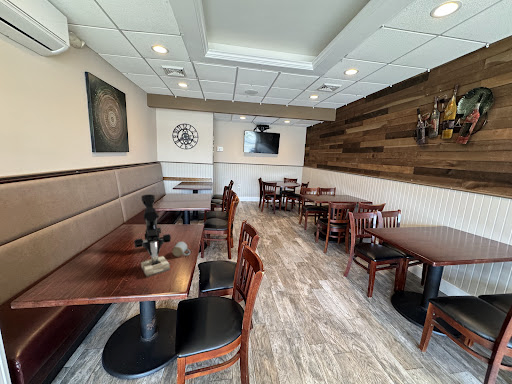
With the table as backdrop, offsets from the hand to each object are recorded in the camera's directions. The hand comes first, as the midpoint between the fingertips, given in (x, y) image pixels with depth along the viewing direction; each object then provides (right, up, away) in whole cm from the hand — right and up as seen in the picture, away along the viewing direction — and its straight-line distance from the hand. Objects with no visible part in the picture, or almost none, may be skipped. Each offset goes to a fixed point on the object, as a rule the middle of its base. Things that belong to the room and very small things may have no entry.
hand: (154, 254), depth 117 cm
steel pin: (-1, -7, +2) cm, 7 cm away
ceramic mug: (+8, -6, +21) cm, 24 cm away
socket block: (-1, -9, +3) cm, 10 cm away
